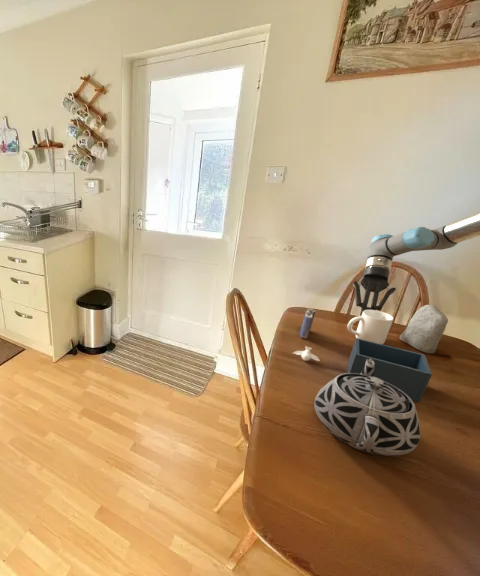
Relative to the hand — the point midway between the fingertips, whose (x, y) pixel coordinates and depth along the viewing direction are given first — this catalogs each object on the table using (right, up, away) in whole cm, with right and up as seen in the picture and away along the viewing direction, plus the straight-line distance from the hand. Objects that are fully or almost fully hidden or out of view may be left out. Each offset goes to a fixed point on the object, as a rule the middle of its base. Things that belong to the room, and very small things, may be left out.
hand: (364, 323), depth 117 cm
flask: (-22, -4, +2) cm, 22 cm away
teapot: (-38, -21, -41) cm, 60 cm away
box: (-16, -14, -24) cm, 33 cm away
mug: (-3, -6, -3) cm, 7 cm away
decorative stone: (+12, -7, -7) cm, 16 cm away
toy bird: (-32, -10, -14) cm, 36 cm away
